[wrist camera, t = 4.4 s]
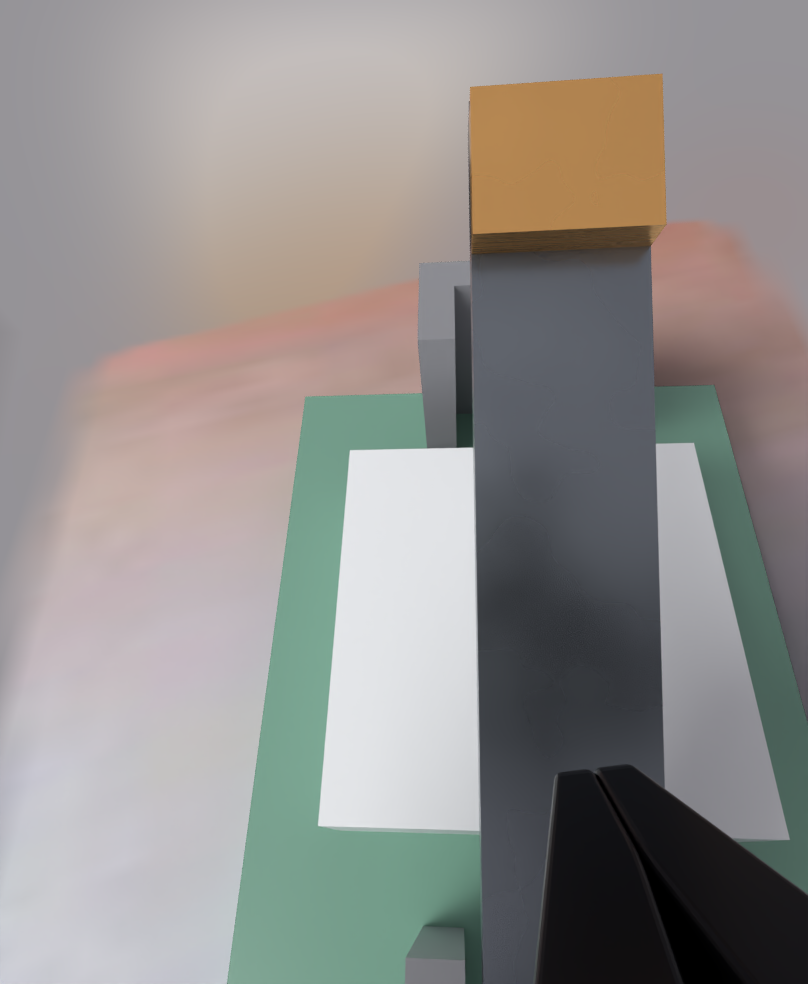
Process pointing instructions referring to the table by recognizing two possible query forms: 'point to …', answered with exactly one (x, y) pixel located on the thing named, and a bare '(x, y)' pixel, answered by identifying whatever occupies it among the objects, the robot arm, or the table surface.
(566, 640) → the strap
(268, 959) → the board
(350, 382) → the table surface
